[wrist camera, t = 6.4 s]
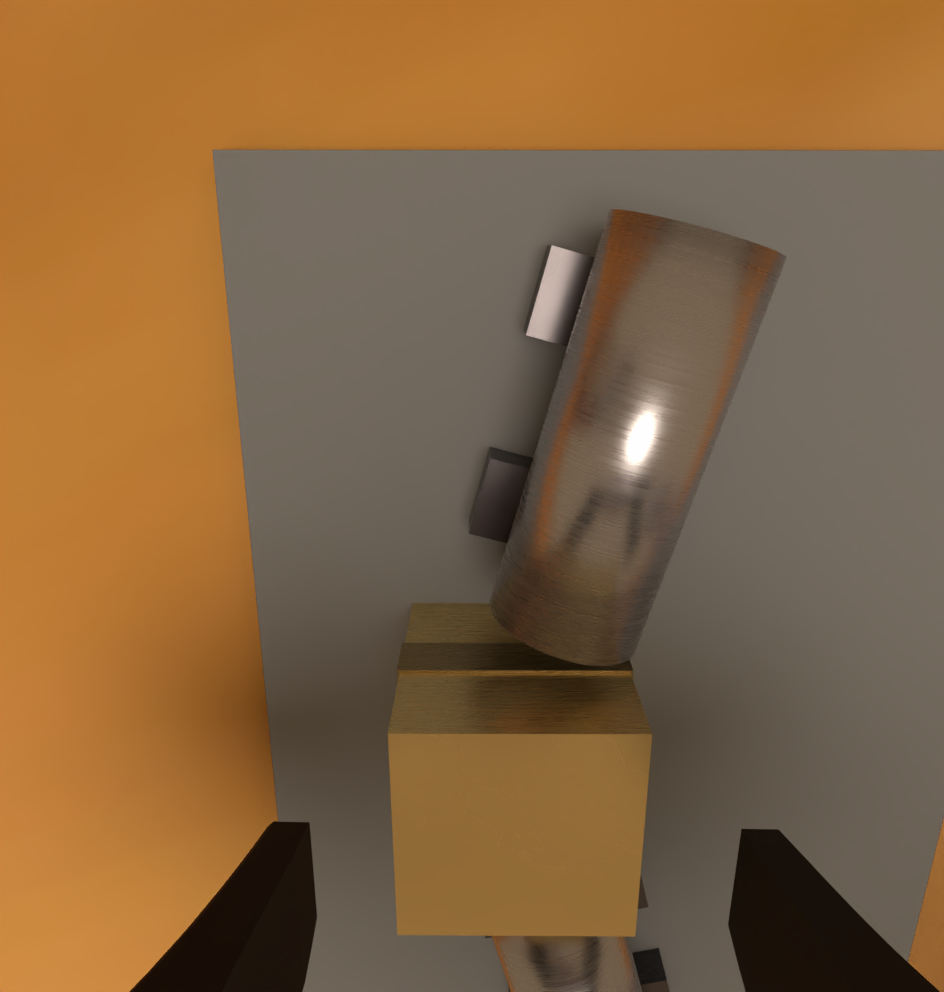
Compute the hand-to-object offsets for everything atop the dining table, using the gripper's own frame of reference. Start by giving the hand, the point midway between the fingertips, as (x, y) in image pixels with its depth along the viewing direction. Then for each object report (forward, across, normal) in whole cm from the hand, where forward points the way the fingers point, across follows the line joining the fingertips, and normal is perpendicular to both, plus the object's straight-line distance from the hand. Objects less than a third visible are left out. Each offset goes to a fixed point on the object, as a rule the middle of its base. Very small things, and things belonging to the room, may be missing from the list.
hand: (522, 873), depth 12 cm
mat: (+5, -2, -1) cm, 6 cm away
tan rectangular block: (+5, 0, 0) cm, 5 cm away
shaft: (+5, -2, -7) cm, 9 cm away
